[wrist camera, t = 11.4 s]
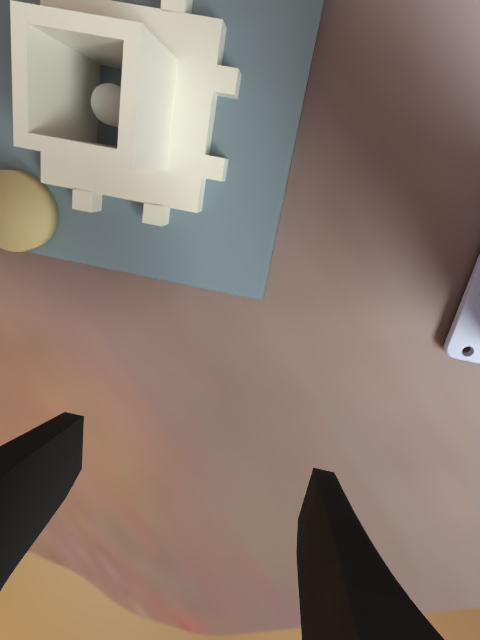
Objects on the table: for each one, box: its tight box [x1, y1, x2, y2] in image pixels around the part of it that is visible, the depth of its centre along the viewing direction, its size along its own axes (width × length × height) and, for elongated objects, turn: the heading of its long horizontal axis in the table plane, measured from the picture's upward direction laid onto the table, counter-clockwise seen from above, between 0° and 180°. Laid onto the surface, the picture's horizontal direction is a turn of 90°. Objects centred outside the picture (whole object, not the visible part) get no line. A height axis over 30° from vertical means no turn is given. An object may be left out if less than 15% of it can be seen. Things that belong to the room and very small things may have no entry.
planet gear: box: [10, 0, 242, 226], centre depth 15 cm, size 9×9×5 cm
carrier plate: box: [0, 0, 324, 300], centre depth 16 cm, size 14×14×4 cm
